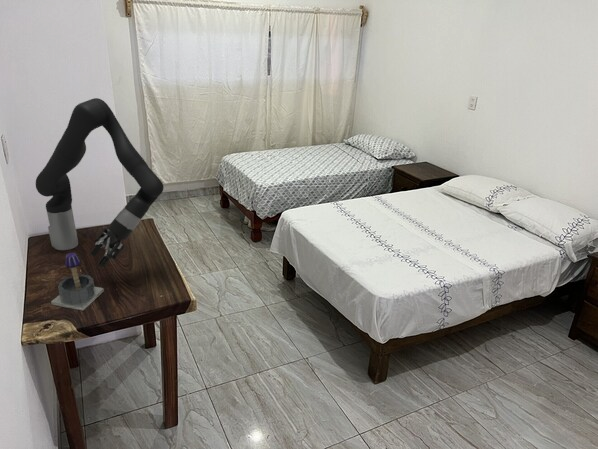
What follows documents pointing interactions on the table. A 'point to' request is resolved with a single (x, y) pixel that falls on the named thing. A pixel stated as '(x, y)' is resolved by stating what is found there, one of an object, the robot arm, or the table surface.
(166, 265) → the table surface
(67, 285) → the collar stand
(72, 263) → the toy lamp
